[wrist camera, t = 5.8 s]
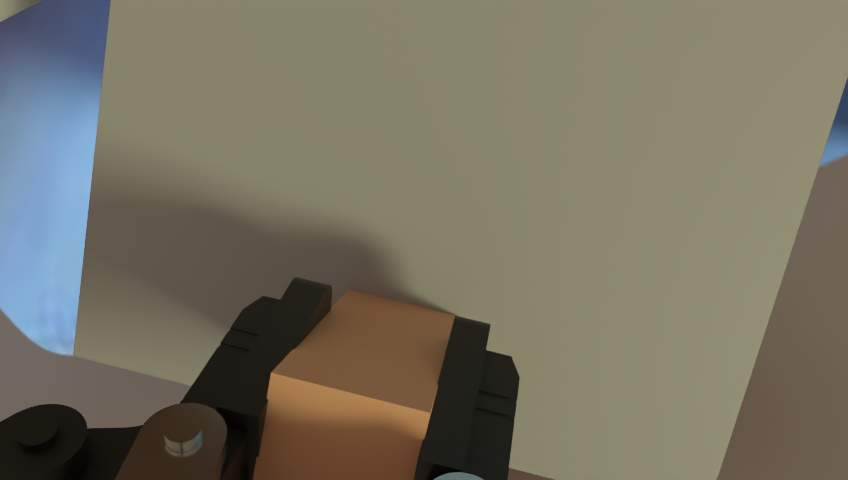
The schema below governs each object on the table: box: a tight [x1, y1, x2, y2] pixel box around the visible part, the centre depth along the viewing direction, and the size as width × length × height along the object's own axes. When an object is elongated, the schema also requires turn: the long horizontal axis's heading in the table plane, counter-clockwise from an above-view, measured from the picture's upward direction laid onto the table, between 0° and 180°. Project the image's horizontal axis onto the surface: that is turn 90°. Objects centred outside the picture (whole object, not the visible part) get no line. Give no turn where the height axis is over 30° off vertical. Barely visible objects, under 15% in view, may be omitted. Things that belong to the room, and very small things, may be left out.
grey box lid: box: [73, 0, 848, 480], centre depth 12 cm, size 18×15×6 cm
